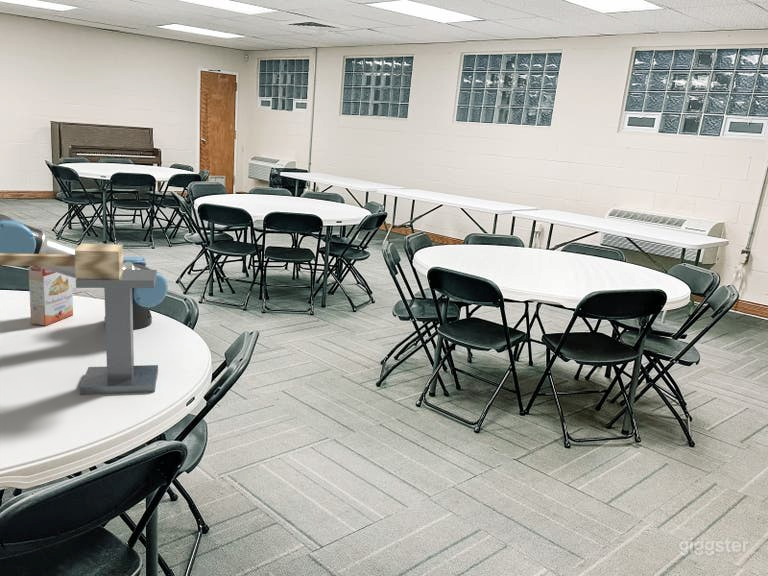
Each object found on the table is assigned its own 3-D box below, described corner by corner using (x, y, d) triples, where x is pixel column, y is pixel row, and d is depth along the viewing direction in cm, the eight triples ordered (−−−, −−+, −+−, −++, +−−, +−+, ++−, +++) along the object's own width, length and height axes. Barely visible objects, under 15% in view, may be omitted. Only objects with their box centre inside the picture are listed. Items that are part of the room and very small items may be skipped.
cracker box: (46, 326, 207) (42, 264, 202) (30, 324, 208) (26, 262, 203) (74, 315, 220) (72, 257, 215) (59, 313, 221) (56, 255, 216)
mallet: (-7, 277, 150) (-10, 248, 148) (4, 268, 158) (2, 241, 157) (119, 278, 158) (118, 251, 156) (123, 270, 166) (122, 244, 165)
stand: (79, 394, 160) (74, 280, 153) (88, 373, 173) (84, 267, 166) (154, 391, 165) (153, 281, 158) (158, 371, 178) (156, 268, 171)
